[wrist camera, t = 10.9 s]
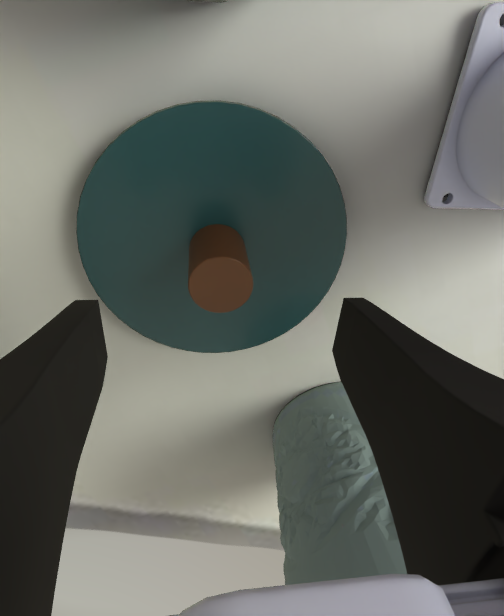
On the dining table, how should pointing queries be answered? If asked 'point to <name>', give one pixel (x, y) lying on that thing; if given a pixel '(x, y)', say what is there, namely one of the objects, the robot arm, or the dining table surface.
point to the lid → (211, 226)
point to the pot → (210, 0)
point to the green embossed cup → (331, 493)
